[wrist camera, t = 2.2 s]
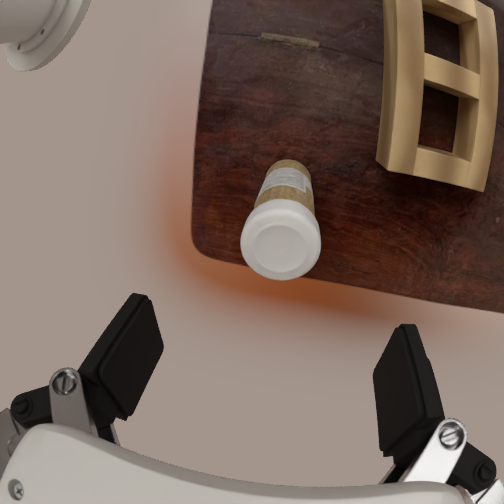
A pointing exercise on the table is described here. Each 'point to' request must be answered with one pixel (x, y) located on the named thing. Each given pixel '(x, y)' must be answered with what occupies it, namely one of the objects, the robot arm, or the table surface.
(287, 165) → the sprinkles bottle
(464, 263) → the table surface
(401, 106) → the holder
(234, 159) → the table surface
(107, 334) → the robot arm
